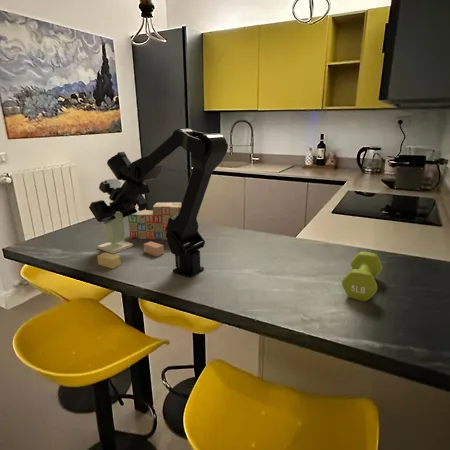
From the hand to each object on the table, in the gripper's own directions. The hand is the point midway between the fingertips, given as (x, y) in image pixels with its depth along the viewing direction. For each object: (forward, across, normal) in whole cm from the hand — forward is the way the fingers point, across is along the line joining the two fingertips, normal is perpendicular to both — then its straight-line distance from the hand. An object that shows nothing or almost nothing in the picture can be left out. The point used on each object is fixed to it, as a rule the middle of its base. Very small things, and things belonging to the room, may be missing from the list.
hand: (110, 220), depth 111 cm
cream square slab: (+6, 0, +8) cm, 10 cm away
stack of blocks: (+2, -16, +11) cm, 20 cm away
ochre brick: (-1, +10, +14) cm, 18 cm away
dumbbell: (-47, -18, +61) cm, 79 cm away
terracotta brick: (-4, -4, +17) cm, 18 cm away
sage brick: (+4, 0, +6) cm, 7 cm away
